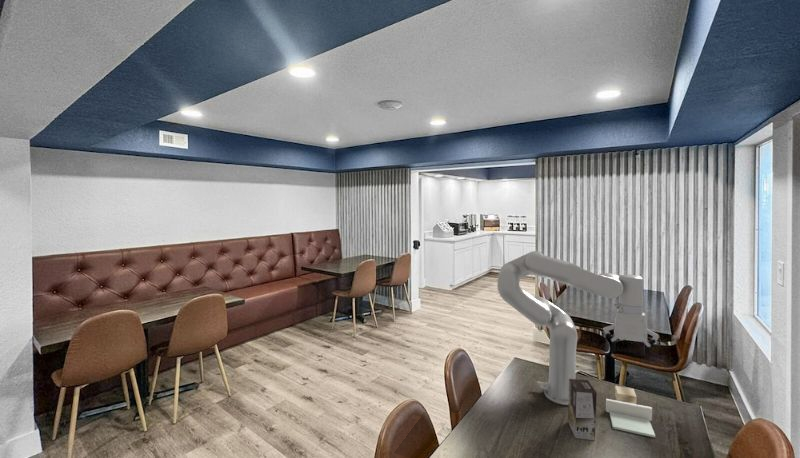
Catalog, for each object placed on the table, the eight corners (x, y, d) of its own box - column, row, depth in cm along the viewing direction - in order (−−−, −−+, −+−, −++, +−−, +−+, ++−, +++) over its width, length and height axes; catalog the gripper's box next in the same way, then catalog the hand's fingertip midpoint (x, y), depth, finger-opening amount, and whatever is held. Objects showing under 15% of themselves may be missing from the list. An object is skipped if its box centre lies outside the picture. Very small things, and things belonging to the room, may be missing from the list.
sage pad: (612, 428, 120) (613, 426, 120) (609, 413, 129) (609, 411, 129) (655, 437, 116) (655, 435, 115) (648, 421, 124) (649, 419, 124)
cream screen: (606, 411, 130) (606, 400, 129) (605, 410, 131) (606, 398, 131) (651, 421, 124) (652, 408, 124) (650, 419, 125) (651, 407, 125)
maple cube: (617, 408, 132) (617, 393, 131) (614, 400, 138) (615, 385, 137) (636, 412, 129) (636, 396, 129) (632, 403, 135) (633, 388, 135)
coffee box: (596, 440, 115) (597, 393, 113) (574, 438, 116) (575, 391, 114) (587, 423, 123) (588, 379, 122) (567, 421, 125) (568, 377, 123)
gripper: (603, 308, 131) (603, 352, 132) (661, 314, 122) (659, 362, 123) (603, 303, 137) (603, 345, 139) (658, 308, 129) (657, 353, 130)
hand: (629, 353), depth 131 cm, fingers open, 9 cm apart
